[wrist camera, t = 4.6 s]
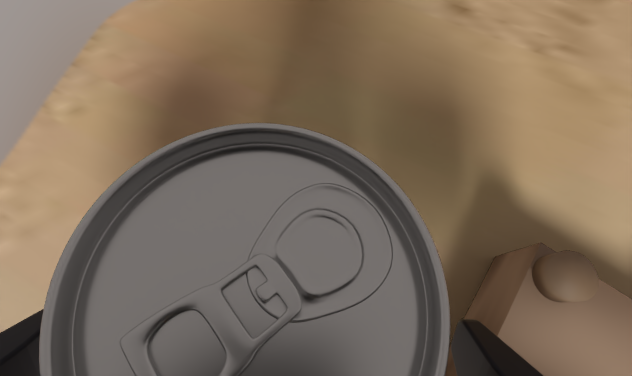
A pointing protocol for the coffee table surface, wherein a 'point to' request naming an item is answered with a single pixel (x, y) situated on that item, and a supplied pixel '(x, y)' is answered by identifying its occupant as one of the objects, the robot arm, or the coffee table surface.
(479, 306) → the base brick
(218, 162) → the can
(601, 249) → the coffee table surface
